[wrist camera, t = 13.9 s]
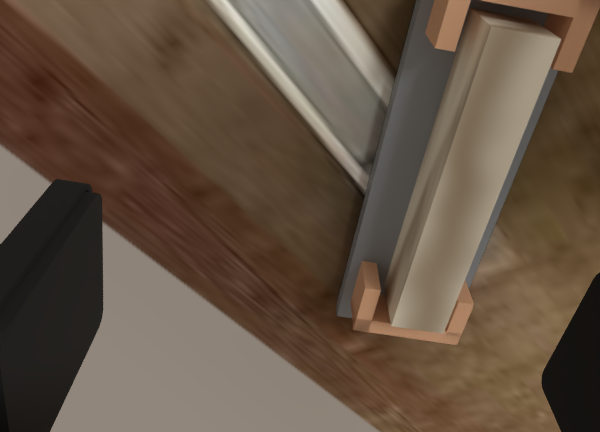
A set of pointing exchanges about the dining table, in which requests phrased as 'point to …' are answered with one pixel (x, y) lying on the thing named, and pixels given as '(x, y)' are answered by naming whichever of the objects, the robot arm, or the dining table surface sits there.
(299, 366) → the dining table surface
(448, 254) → the slat
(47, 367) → the robot arm
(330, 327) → the dining table surface
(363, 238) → the board
